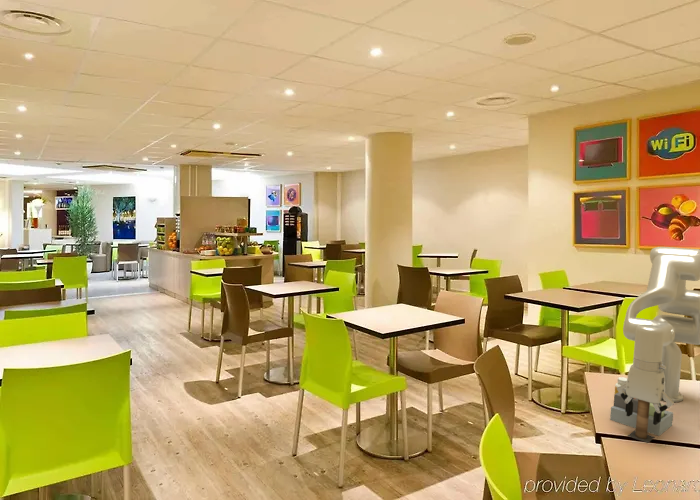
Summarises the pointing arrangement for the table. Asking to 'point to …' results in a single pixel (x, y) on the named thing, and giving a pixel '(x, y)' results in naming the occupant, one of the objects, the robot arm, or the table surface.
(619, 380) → the supplement bottle
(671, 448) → the table surface
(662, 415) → the on button
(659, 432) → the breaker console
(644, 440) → the pad
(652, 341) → the robot arm
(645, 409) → the brown wooden cylinder
